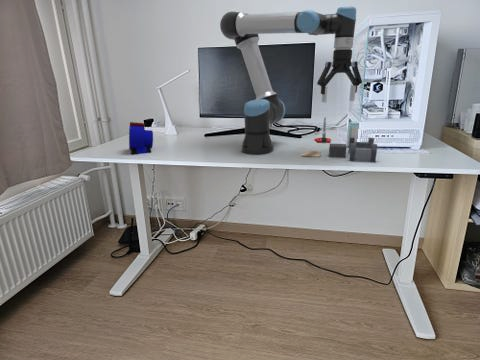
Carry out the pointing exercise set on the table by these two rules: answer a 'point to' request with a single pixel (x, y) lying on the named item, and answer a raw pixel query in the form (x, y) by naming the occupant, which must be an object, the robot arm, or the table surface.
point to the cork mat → (311, 154)
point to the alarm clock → (140, 138)
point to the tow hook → (323, 135)
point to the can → (352, 131)
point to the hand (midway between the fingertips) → (338, 101)
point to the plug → (337, 150)
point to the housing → (362, 150)
